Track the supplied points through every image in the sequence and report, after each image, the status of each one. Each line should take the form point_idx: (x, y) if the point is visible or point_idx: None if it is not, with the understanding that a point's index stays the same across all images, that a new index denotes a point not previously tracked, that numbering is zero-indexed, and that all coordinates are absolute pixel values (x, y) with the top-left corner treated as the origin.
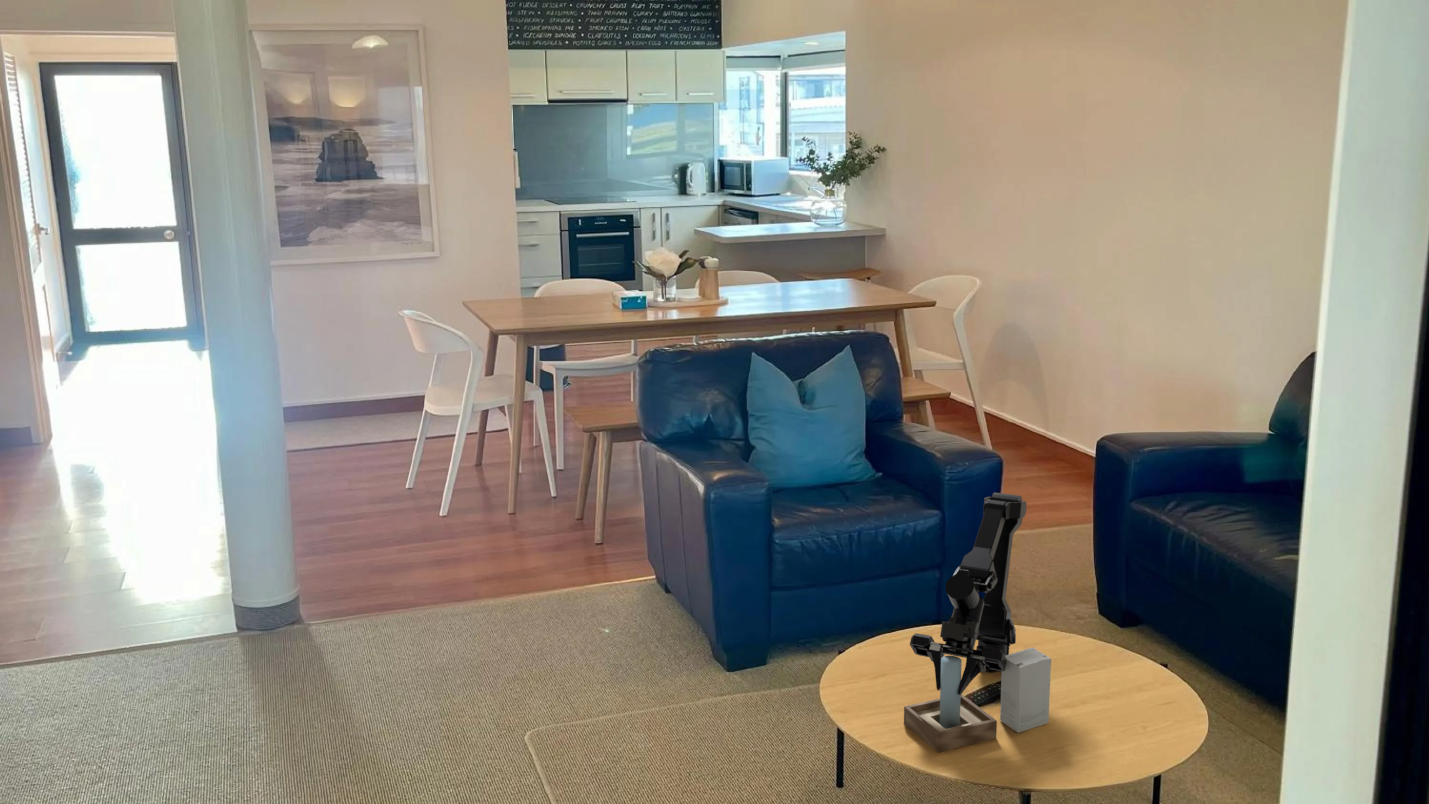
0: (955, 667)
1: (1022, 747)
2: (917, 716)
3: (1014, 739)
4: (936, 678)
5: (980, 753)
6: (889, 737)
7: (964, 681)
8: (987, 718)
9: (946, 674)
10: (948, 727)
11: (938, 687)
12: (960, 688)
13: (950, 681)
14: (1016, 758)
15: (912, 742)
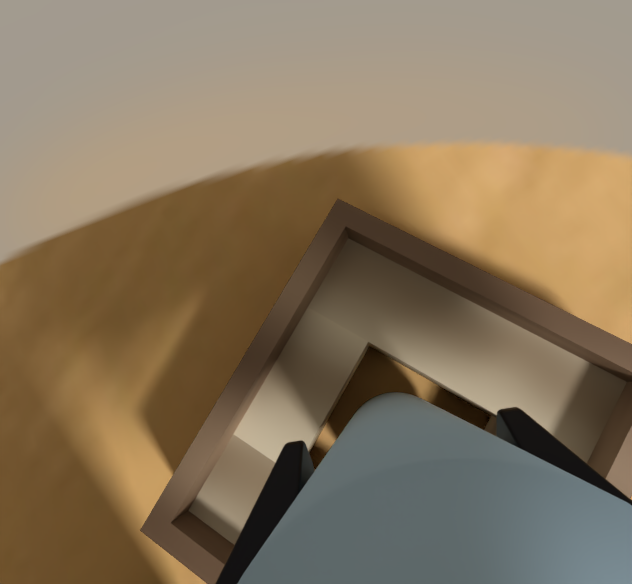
0: (275, 527)
1: (70, 483)
2: (538, 306)
3: (118, 535)
4: (592, 478)
5: (197, 331)
6: (590, 215)
7: (241, 555)
8: (202, 540)
9: (429, 421)
10: (378, 395)
11: (504, 417)
12: (280, 472)
13: (367, 426)
14: (67, 380)
15: (477, 240)
